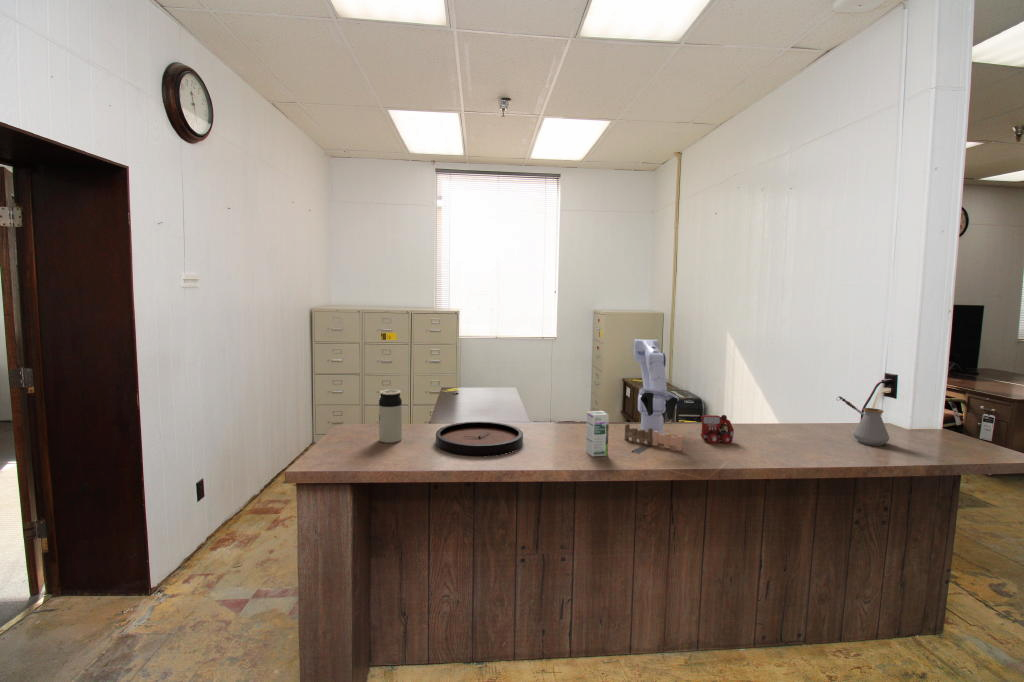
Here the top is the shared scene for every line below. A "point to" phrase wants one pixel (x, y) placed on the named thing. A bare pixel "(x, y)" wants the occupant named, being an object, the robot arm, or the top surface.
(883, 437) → the coffee pot
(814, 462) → the top surface
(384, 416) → the travel mug
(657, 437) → the folding fence panel
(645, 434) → the fixed fence section
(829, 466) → the top surface
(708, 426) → the toy fire truck
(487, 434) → the wall clock
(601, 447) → the syrup box
